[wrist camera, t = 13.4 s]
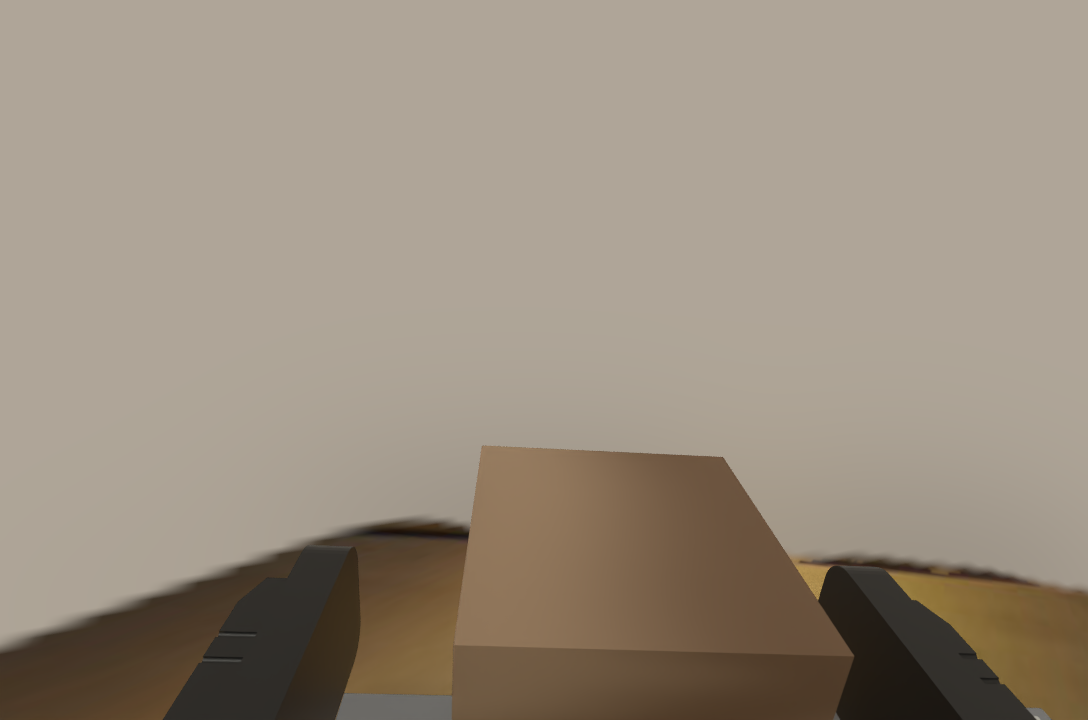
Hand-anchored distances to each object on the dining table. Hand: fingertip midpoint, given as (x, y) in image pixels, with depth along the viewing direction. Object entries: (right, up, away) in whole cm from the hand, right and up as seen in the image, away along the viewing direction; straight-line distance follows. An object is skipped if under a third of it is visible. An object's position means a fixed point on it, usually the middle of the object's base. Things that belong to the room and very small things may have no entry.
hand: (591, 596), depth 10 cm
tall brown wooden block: (-1, -8, +2) cm, 9 cm away
